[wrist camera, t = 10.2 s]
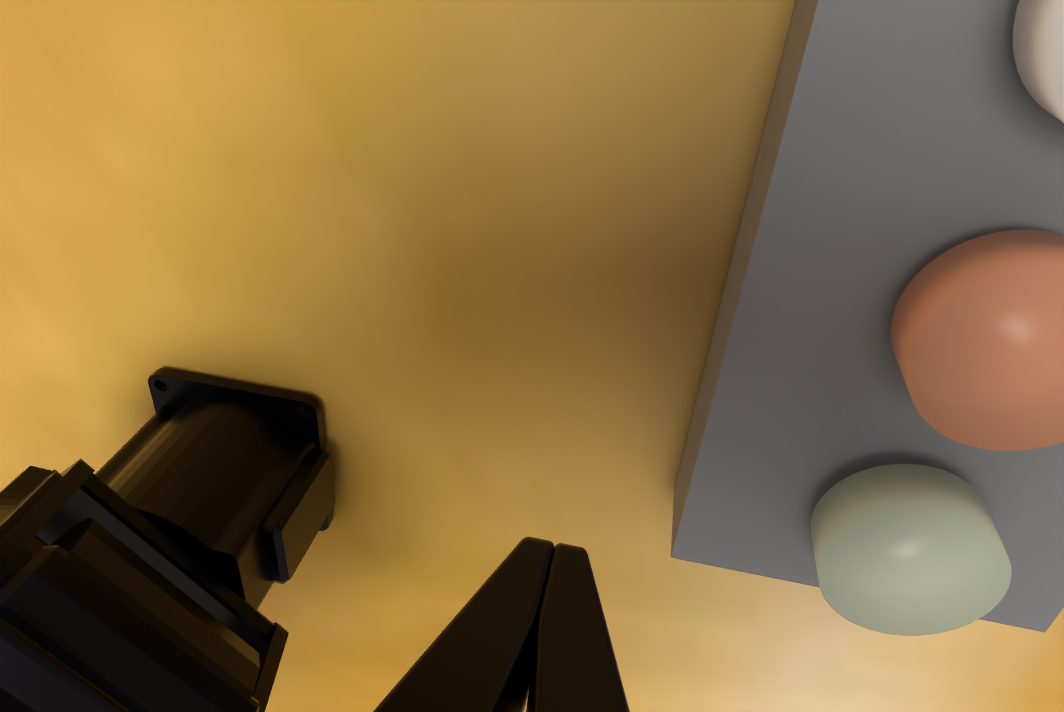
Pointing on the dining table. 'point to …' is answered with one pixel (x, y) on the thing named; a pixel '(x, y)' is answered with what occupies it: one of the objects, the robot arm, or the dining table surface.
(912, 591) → the button sage
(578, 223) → the dining table surface
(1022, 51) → the button offwhite
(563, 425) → the dining table surface
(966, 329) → the button terracotta
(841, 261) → the button panel
